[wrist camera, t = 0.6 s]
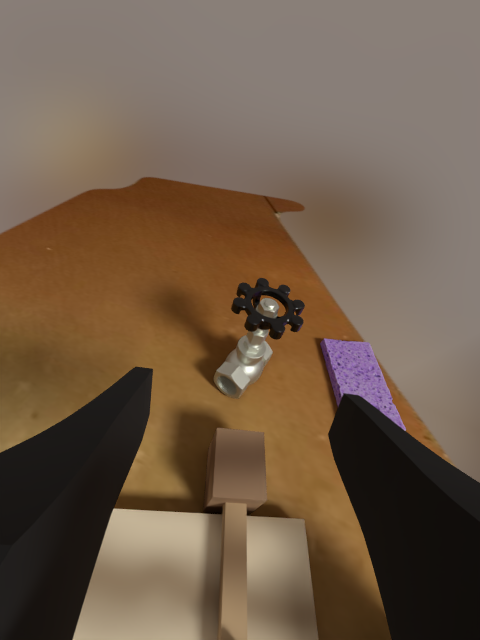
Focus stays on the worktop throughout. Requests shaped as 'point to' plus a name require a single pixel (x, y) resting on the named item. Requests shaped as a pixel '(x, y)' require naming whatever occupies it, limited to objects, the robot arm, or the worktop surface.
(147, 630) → the board
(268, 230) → the worktop surface
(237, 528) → the mallet
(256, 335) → the valve
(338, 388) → the sponges
